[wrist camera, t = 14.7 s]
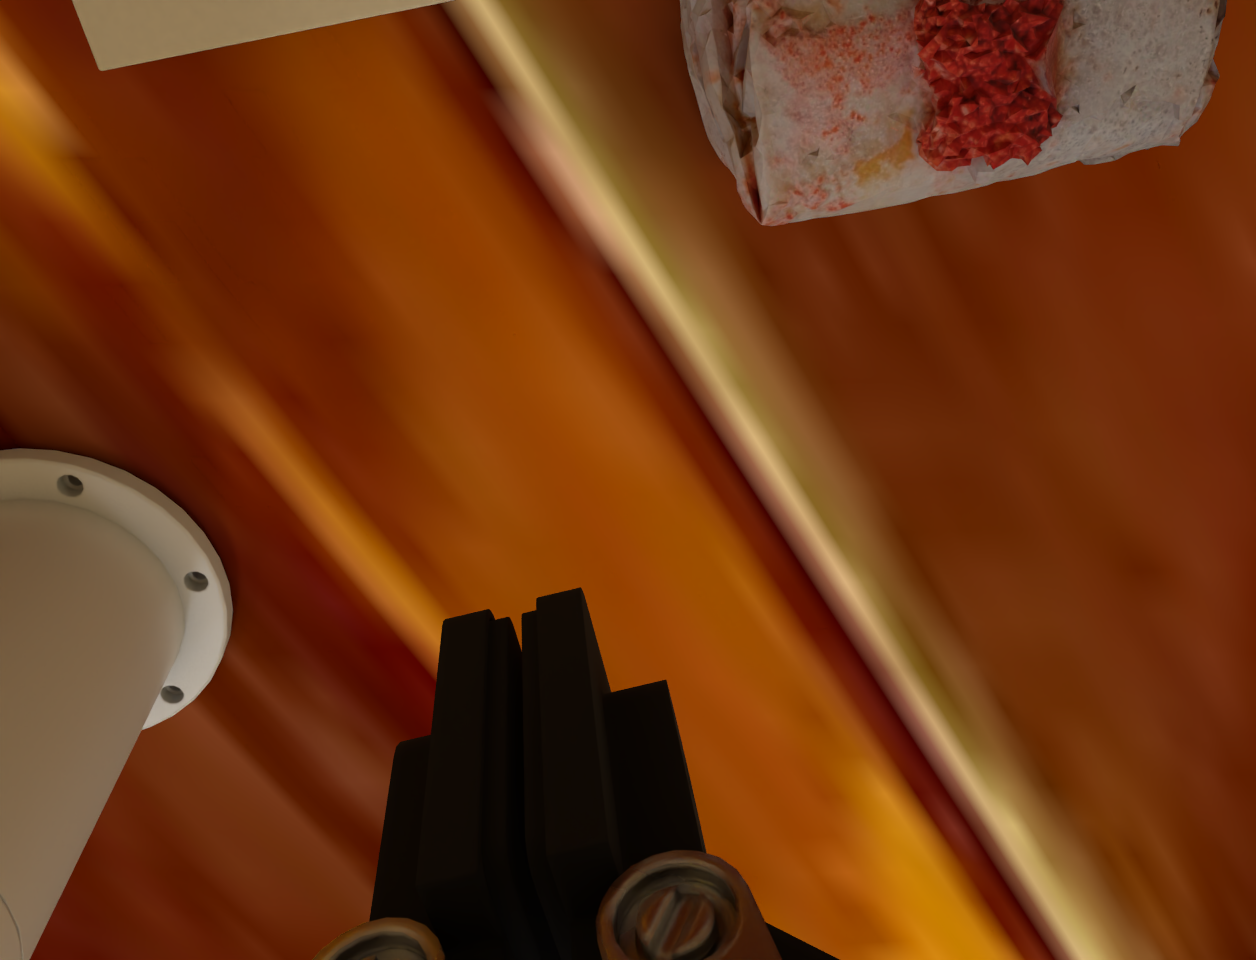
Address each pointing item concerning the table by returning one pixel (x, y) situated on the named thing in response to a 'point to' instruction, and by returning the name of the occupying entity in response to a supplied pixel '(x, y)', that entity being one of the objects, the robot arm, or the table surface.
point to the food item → (936, 92)
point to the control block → (209, 23)
